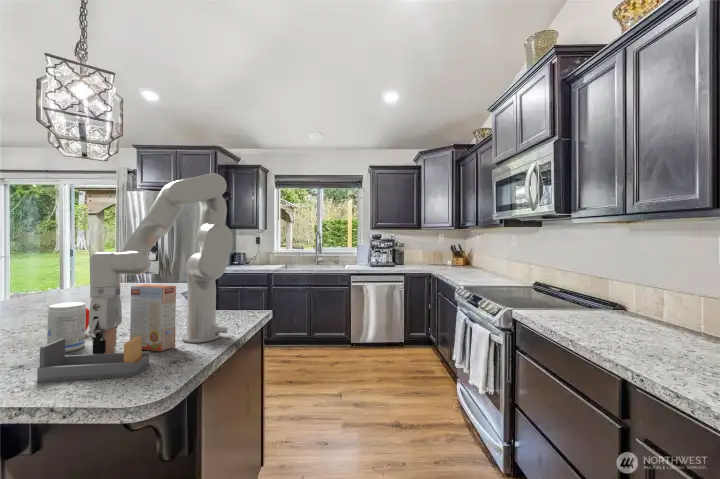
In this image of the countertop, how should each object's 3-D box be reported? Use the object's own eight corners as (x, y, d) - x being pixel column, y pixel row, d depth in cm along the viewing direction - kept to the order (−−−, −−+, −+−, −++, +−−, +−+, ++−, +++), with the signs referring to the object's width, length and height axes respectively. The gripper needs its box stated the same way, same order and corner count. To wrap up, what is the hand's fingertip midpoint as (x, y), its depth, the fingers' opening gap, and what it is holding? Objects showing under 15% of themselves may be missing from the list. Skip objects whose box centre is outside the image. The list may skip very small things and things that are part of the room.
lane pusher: (141, 360, 98) (141, 336, 98) (129, 369, 91) (130, 343, 91) (135, 361, 98) (136, 336, 98) (123, 370, 91) (124, 343, 91)
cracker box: (176, 347, 115) (177, 285, 115) (160, 352, 109) (161, 287, 110) (145, 343, 120) (146, 283, 120) (129, 348, 114) (129, 285, 114)
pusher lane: (149, 363, 100) (149, 334, 100) (133, 376, 90) (134, 343, 90) (62, 368, 95) (63, 337, 95) (37, 382, 86) (37, 348, 86)
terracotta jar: (119, 352, 109) (120, 320, 109) (110, 358, 103) (110, 325, 103) (99, 353, 108) (99, 321, 108) (88, 360, 102) (88, 325, 102)
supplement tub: (44, 349, 112) (45, 304, 112) (81, 343, 119) (82, 300, 119) (50, 355, 106) (50, 308, 106) (88, 348, 113) (89, 304, 113)
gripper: (103, 295, 98) (103, 359, 98) (131, 287, 115) (131, 341, 115) (74, 296, 97) (73, 360, 96) (106, 288, 113) (106, 342, 113)
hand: (104, 349), depth 106 cm, fingers closed on terracotta jar, 5 cm apart
